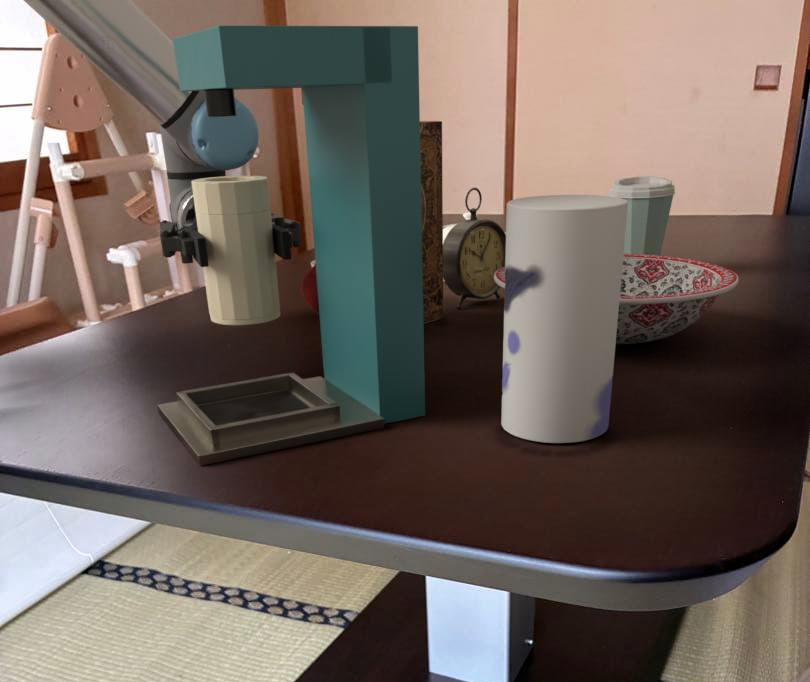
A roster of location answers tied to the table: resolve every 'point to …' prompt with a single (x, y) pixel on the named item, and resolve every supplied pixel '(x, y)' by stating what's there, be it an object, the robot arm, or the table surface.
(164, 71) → the robot arm
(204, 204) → the cream faceted cup
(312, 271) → the onion
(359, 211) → the coffee station
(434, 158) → the book
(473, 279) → the alarm clock
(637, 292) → the ceramic bowl
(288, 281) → the table surface
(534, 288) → the container
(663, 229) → the disposable coffee cup
